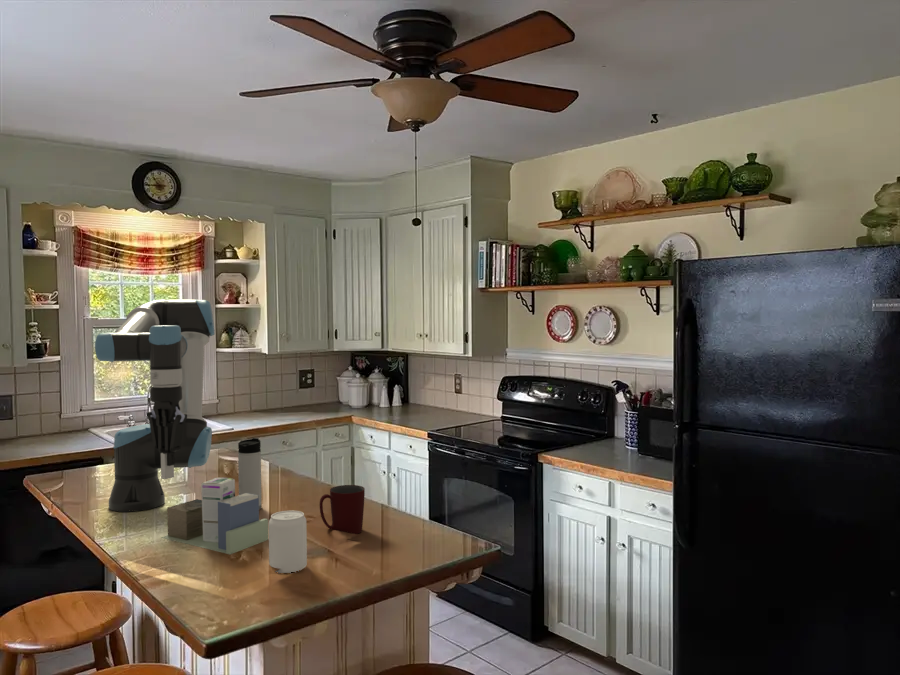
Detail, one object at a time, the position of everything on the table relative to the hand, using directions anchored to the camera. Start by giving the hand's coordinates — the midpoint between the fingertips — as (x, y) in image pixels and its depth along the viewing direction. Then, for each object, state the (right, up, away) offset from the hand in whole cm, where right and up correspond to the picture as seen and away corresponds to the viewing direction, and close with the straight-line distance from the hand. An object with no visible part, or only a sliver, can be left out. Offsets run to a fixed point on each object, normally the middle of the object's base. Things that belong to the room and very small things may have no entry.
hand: (167, 477), depth 180 cm
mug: (+44, -15, +1) cm, 47 cm away
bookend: (+8, -13, -4) cm, 16 cm away
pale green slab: (+15, -15, -8) cm, 22 cm away
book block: (+22, -13, -12) cm, 28 cm away
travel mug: (+15, -14, +24) cm, 31 cm away
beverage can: (+36, -16, -24) cm, 46 cm away
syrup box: (+16, -14, -8) cm, 23 cm away
